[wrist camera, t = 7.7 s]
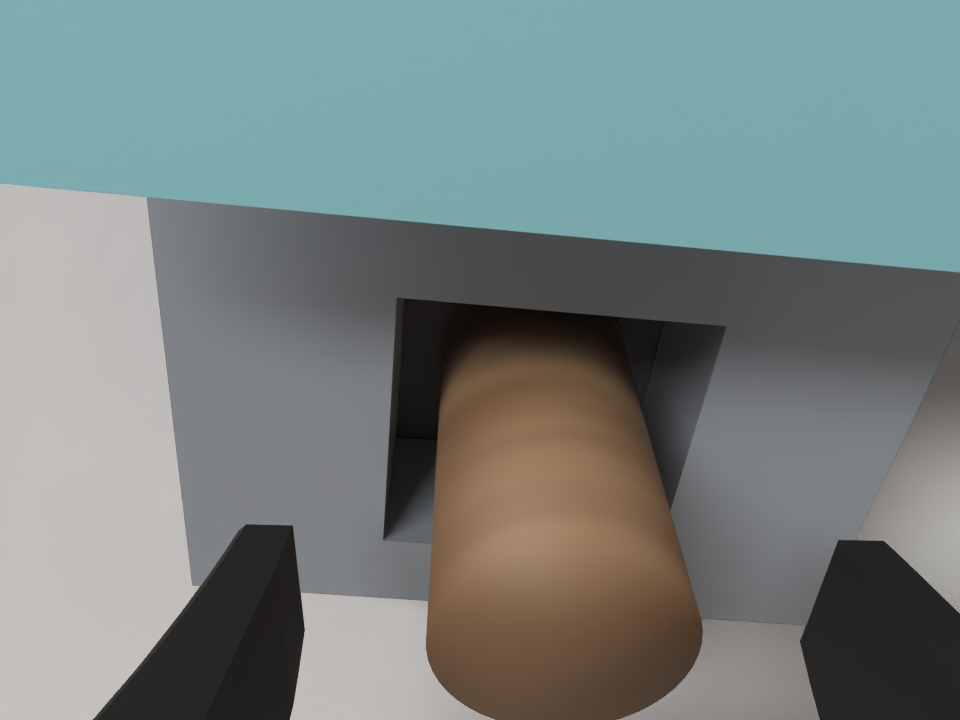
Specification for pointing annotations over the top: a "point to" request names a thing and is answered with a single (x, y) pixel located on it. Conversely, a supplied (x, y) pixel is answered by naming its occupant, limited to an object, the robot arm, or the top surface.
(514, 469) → the peg
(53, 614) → the top surface
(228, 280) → the socket block
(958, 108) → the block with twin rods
